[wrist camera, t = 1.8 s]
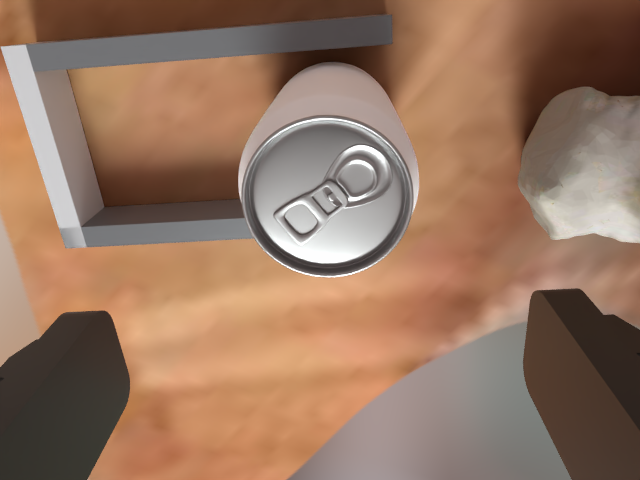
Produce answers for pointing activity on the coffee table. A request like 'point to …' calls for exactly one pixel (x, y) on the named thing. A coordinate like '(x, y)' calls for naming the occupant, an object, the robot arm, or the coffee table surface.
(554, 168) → the ceramic sculpture
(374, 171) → the can
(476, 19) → the coffee table surface
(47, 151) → the frame
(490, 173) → the coffee table surface
